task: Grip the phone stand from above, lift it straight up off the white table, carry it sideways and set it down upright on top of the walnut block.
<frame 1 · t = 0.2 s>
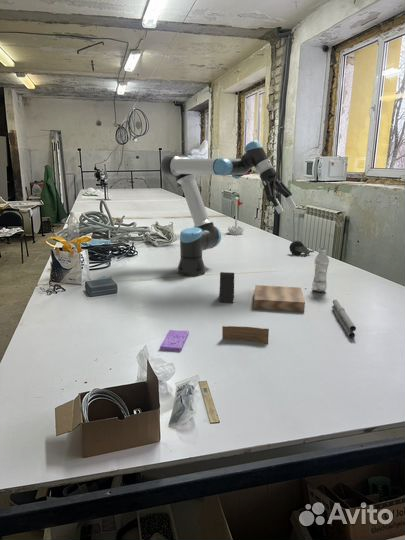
hand: (287, 210, 171), 36 cm above the table, tool tilted 35°, fingers open, 13 cm apart
sponges: (175, 343, 123), on the table
plastic bottle: (318, 291, 170), on the table
metal rod assembly: (341, 323, 138), on the table
wood plank: (244, 342, 123), on the table
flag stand: (235, 234, 304), on the table
phone stand: (226, 299, 161), on the table
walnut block: (278, 302, 157), on the table
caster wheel: (301, 255, 236), on the table
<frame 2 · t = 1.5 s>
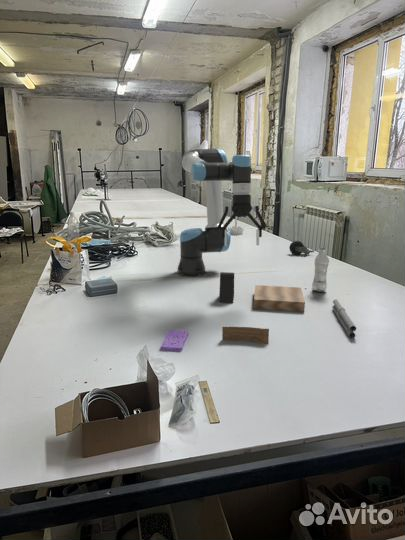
hand: (241, 245, 156), 24 cm above the table, tool pointing down, fingers open, 13 cm apart
nothing on the table moved.
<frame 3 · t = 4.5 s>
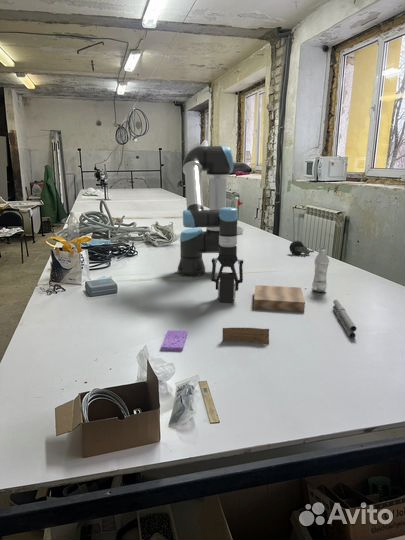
hand: (226, 297, 161), 1 cm above the table, tool pointing down, fingers closed on phone stand, 6 cm apart
phone stand: (226, 299, 161), on the table, touching gripper
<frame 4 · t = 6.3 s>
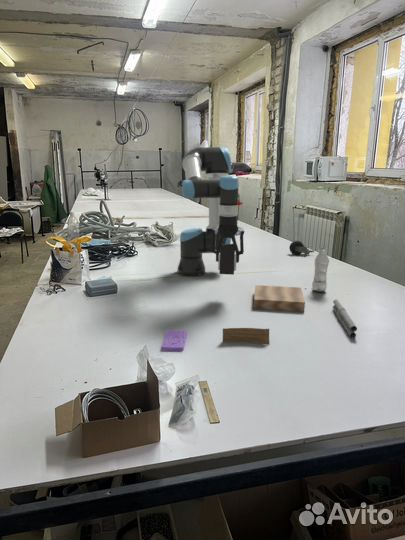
hand: (227, 269, 157), 13 cm above the table, tool pointing down, fingers closed on phone stand, 6 cm apart
phone stand: (227, 271, 158), point 12 cm above the table, touching gripper
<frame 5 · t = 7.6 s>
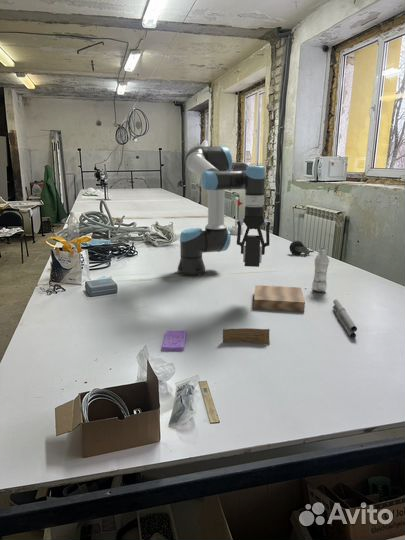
hand: (252, 261, 154), 17 cm above the table, tool pointing down, fingers closed on phone stand, 6 cm apart
phone stand: (252, 264, 154), point 16 cm above the table, touching gripper
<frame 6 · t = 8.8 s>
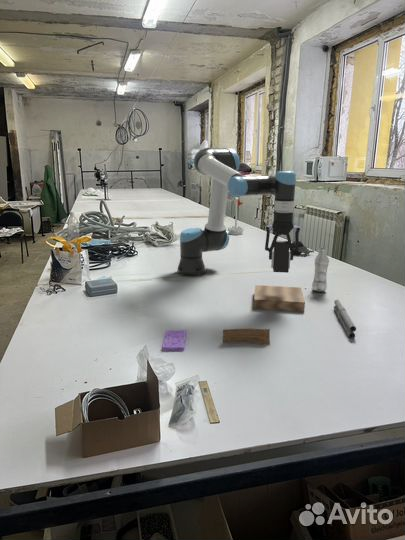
hand: (280, 267, 153), 15 cm above the table, tool pointing down, fingers closed on phone stand, 6 cm apart
phone stand: (280, 269, 153), point 14 cm above the table, touching gripper
when the fingers open (7 cm above the table, at t = 10.9 s): phone stand drops 2 cm, resting on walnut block.
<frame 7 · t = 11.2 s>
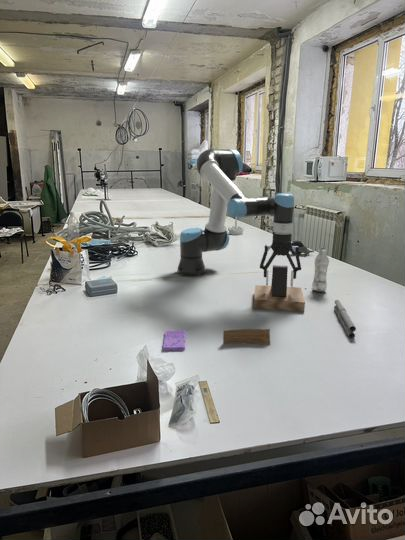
hand: (279, 285, 155), 8 cm above the table, tool pointing down, fingers open, 9 cm apart
phone stand: (278, 293, 156), point 4 cm above the table, touching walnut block
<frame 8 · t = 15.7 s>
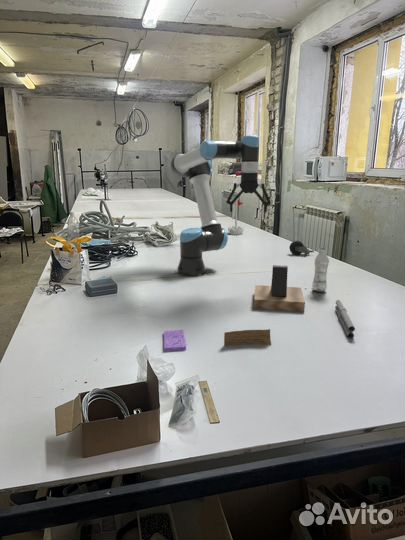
hand: (247, 219, 171), 32 cm above the table, tool pointing down, fingers open, 13 cm apart
at the end: phone stand inside the target area on the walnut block (0.0 cm from its centre), point 3.8 cm above the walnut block's base; phone stand tilted 0°; the gripper is holding nothing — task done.
